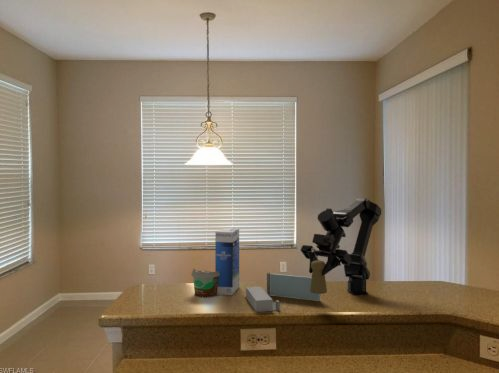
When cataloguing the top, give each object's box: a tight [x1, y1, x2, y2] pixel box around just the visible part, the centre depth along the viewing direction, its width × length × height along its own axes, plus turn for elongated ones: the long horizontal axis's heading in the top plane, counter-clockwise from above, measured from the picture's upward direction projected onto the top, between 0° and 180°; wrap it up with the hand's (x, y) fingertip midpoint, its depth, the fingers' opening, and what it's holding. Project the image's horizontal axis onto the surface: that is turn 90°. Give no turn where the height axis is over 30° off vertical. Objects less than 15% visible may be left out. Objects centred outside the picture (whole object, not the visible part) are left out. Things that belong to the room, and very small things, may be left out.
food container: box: [191, 268, 220, 298], centre depth 156 cm, size 12×6×10 cm, turn 68°
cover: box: [270, 272, 321, 302], centre depth 152 cm, size 2×20×8 cm, turn 67°
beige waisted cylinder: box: [310, 259, 328, 295], centre depth 138 cm, size 6×6×11 cm
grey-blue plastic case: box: [245, 272, 281, 313], centre depth 146 cm, size 10×20×9 cm, turn 12°
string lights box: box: [214, 227, 240, 296], centre depth 163 cm, size 13×8×26 cm, turn 168°
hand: (316, 273), depth 137 cm, fingers closed on beige waisted cylinder, 5 cm apart
